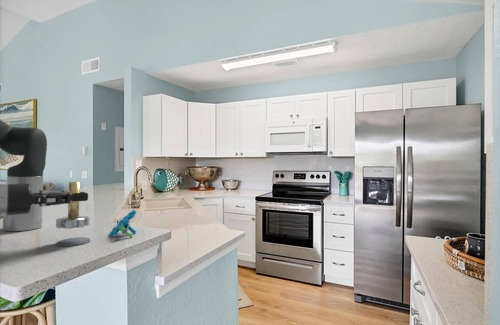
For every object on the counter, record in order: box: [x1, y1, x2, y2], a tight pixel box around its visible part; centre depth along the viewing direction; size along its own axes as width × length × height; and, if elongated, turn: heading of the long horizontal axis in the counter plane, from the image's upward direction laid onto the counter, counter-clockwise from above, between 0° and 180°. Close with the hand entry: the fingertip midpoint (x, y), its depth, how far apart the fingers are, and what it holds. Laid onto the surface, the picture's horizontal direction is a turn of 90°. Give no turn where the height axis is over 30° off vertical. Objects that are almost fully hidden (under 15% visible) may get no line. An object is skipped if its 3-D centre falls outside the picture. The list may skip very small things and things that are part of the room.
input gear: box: [55, 181, 91, 230], centre depth 76 cm, size 8×8×12 cm
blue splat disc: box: [109, 209, 137, 239], centre depth 85 cm, size 11×6×10 cm
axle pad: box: [55, 236, 91, 248], centre depth 76 cm, size 8×8×1 cm
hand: (86, 196), depth 78 cm, fingers closed on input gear, 2 cm apart
